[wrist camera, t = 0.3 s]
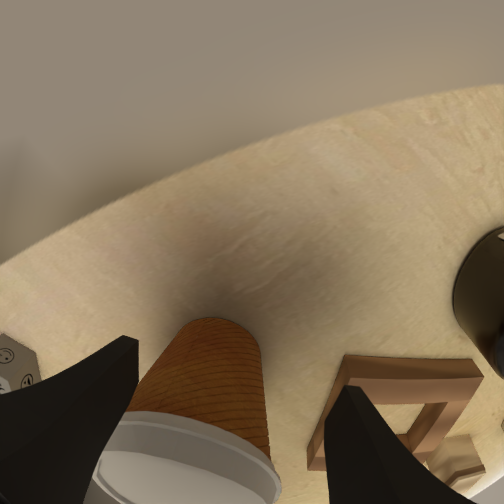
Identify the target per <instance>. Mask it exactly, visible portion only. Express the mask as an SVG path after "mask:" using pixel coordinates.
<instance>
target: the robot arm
mask: <svg viewBox="0 0 504 504" xmlns="http://www.w3.org/2000/svg"><path fill="white" fill-rule="evenodd" d="M138 382H139V340H137V339H134V338H131V337H128V336H124V335H122V336H120V337H119V338H117V339H115V340H114V341H112V342H111V343H109V344H108V345H106V346H104V347H103V348H101V349H100V350H98V351H97V352H95V353H93V354H92V355H90V356H88V357H87V358H85V359H83V360H82V361H80V362H78V363H77V364H75V365H73V366H71V367H69V368H68V369H66V370H64V371H62V372H60V373H58V374H56V375H54V376H52V377H50V378H48V379H45V380H43V381H41V382H38V383H36V384H33V385H30V386H27V387H24V388H21V389H18V390H14V391H11V392H8V393H4V394H0V504H83V501H84V498H85V494H86V492H87V489H88V486H89V483H90V481H91V478H92V475H93V473H94V470H95V468H96V465H97V463H98V460H99V458H100V456H101V454H102V452H103V450H104V448H105V446H106V444H107V443H108V441H109V439H110V437H111V436H112V434H113V432H114V430H115V429H116V427H117V425H118V423H119V422H120V420H121V418H122V416H123V415H124V413H125V411H126V409H127V408H128V406H129V404H130V402H131V399H132V397H133V395H134V392H135V390H136V387H137V385H138ZM324 453H325V462H326V471H327V480H328V489H329V504H477V503H475V502H473V501H471V500H469V499H467V498H466V497H464V496H462V495H461V494H459V493H458V492H456V491H455V490H453V489H452V488H450V487H449V486H447V485H446V484H445V483H443V482H442V481H441V480H440V479H438V478H437V477H436V476H435V475H433V474H432V473H431V472H430V471H429V470H428V469H427V468H426V467H425V466H424V465H423V464H421V463H420V462H419V461H418V460H417V459H416V458H415V457H414V456H413V454H412V453H411V452H410V451H409V450H408V449H407V448H406V447H405V445H404V444H403V443H402V442H401V441H400V440H399V438H398V437H397V436H396V435H395V433H394V432H393V431H392V430H391V428H390V427H389V426H388V424H387V423H386V422H385V420H384V419H383V418H382V416H381V415H380V413H379V412H378V411H377V409H376V408H375V406H374V405H373V404H372V402H371V401H370V399H369V398H368V397H367V395H366V394H365V392H364V391H363V390H362V388H361V387H360V386H352V385H344V386H343V388H342V390H341V392H340V394H339V396H338V397H337V399H336V401H335V403H334V405H333V407H332V408H331V410H330V412H329V414H328V416H327V417H326V419H325V421H324Z"/></svg>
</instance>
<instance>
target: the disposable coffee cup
mask: <svg viewBox="0 0 504 504" xmlns="http://www.w3.org/2000/svg"><path fill="white" fill-rule="evenodd" d="M264 396H265V395H264V386H263V376H262V367H261V354H260V349H259V346H258V344H257V342H256V341H255V339H254V337H253V336H252V335H251V334H250V333H249V332H248V331H246V330H245V329H244V328H242V327H241V326H239V325H237V324H235V323H233V322H231V321H228V320H224V319H219V318H203V319H198V320H195V321H192V322H190V323H188V324H187V325H185V326H184V327H183V328H182V329H181V330H180V331H179V332H178V334H177V335H176V336H175V338H174V339H173V340H172V341H171V343H170V344H169V345H168V347H167V348H166V349H165V350H164V352H163V353H162V354H161V356H160V357H159V358H158V359H157V361H156V362H155V363H154V364H153V366H152V367H151V368H150V370H149V371H148V372H147V373H146V375H145V376H144V377H143V378H142V380H141V381H140V382H139V384H138V385H137V387H136V390H135V392H134V395H133V397H132V399H131V402H130V404H129V406H128V408H127V409H126V411H125V413H124V415H123V416H122V418H121V420H120V422H119V423H118V425H117V427H116V429H115V430H114V432H113V434H112V436H111V437H110V439H109V441H108V443H107V444H106V446H105V448H104V450H103V452H102V454H101V456H100V458H99V460H98V463H97V465H96V468H95V470H94V473H93V475H92V478H93V479H94V480H95V482H96V483H97V484H98V485H99V486H100V487H101V488H102V489H103V490H104V491H105V492H106V493H108V494H109V495H110V496H112V497H113V498H114V499H116V500H117V501H118V502H120V503H122V504H274V503H275V502H276V501H277V500H278V498H279V496H280V494H281V481H280V477H279V475H278V474H277V472H276V471H275V468H274V465H273V463H272V462H271V456H270V446H269V437H267V436H268V435H269V434H268V428H267V420H266V419H267V415H266V407H265V397H264Z"/></svg>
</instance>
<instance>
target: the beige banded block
mask: <svg viewBox="0 0 504 504" xmlns="http://www.w3.org/2000/svg"><path fill="white" fill-rule="evenodd" d="M426 461H427V464H428V467H429V471H430V472H431V473H432V474H433V475H435V476H436V477H437V478H438V479H440V480H441V481H442V482H443V483H445V484H446V485H447V486H449V487H450V488H452V489H453V490H455V491H456V492H458V493H459V494H461V493H465V492H467V491H468V490H469V489H470V488H471V487H472V486H473V485H474V484H475V483H476V482H477V481H478V480H479V479H480V478H481V477H482V476H483V475H484V474H485V473H486V471H485V467H484V465H483V464H482V462H481V460H480V457H479V455H478V453H477V451H476V449H475V446H474V444H473V442H472V440H471V438H470V436H469V434H468V435H462V436H456V437H449V438H443V440H442V441H441V442H440V443H439V445H438V446H437V447H436V448H435V450H434V451H433V452H432V453H431V455H430V456H429V457H428V458H427V459H426Z"/></svg>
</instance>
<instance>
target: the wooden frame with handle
mask: <svg viewBox="0 0 504 504" xmlns="http://www.w3.org/2000/svg"><path fill="white" fill-rule="evenodd" d="M483 378H484V376H483V374H482V373H481V371H480V370H479V368H478V367H477V365H476V364H475V363H474V361H473V360H472V359H407V358H384V357H367V356H353V355H345V356H344V359H343V361H342V364H341V367H340V370H339V372H338V375H337V378H336V380H335V383H334V386H333V388H332V391H331V394H330V396H329V399H328V401H327V404H326V406H325V409H324V411H323V413H322V416H321V418H320V421H319V423H318V425H317V428H316V430H315V432H314V435H313V437H312V439H311V441H310V444H309V446H308V448H307V470H309V471H326V462H325V453H324V421H325V419H326V417H327V416H328V414H329V412H330V410H331V408H332V407H333V405H334V403H335V401H336V399H337V397H338V396H339V394H340V392H341V390H342V388H343V386H344V385H352V386H360V387H361V388H362V390H363V391H364V392H365V394H366V395H367V397H368V398H369V399H370V401H371V402H372V404H423V403H426V405H425V406H424V408H423V410H422V411H421V413H420V414H419V416H418V418H417V419H416V421H415V422H414V424H413V425H412V427H411V428H410V430H409V431H408V433H407V434H403V435H396V436H397V437H398V438H399V440H400V441H401V442H402V443H403V444H404V445H405V447H406V448H407V449H408V450H409V451H410V452H411V453H412V454H413V456H414V457H415V458H416V459H417V460H418V461H419V462H420V463H421V464H423V463H424V462H425V461H426V459H427V458H428V457H429V456H430V455H431V453H432V452H433V451H434V450H435V448H436V447H437V446H438V445H439V443H440V442H441V441H442V440H443V438H444V437H445V436H446V434H447V433H448V432H449V430H450V429H451V427H452V426H453V425H454V423H455V422H456V420H457V419H458V418H459V416H460V415H461V413H462V412H463V410H464V409H465V407H466V406H467V404H468V403H469V401H470V400H471V398H472V397H473V395H474V393H475V392H476V390H477V388H478V387H479V385H480V383H481V382H482V380H483Z"/></svg>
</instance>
